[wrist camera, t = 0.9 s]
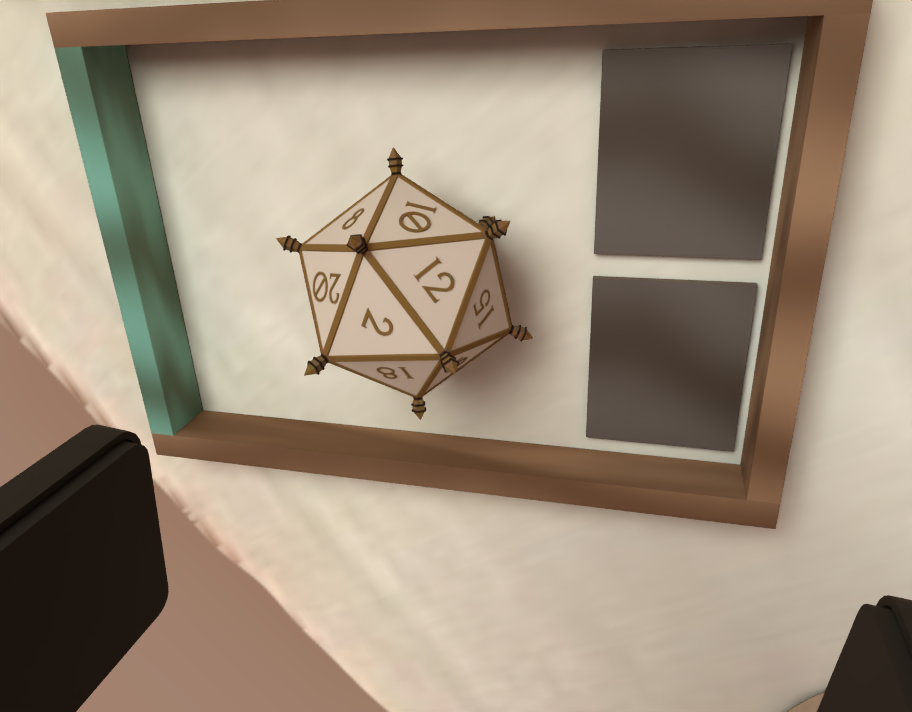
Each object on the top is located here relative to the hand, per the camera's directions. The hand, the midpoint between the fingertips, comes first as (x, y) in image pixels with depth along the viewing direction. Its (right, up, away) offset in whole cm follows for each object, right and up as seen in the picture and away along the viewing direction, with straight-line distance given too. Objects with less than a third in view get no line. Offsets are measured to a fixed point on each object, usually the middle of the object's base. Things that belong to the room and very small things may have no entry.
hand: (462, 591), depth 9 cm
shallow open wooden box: (-1, +7, +20) cm, 21 cm away
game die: (-1, +7, +20) cm, 22 cm away
